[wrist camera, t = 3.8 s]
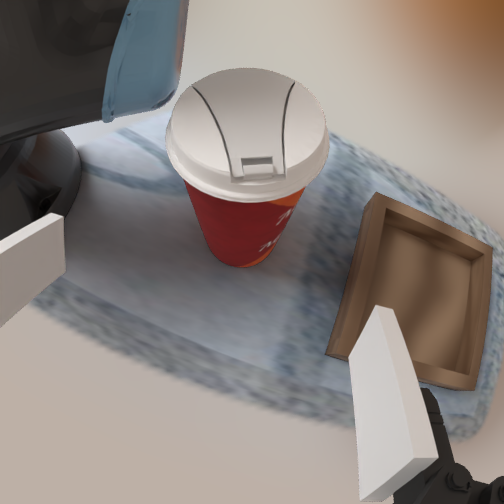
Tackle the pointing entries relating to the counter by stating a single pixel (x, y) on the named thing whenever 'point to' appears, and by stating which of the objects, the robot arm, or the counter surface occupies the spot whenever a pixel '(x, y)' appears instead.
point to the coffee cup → (246, 156)
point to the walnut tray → (419, 291)
